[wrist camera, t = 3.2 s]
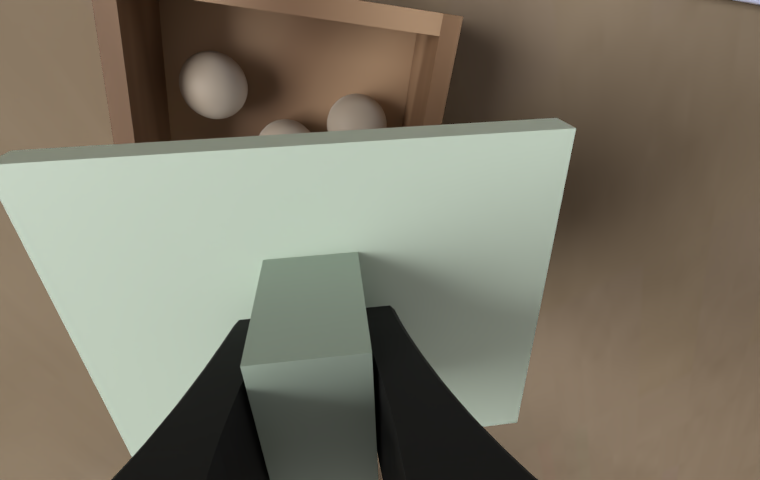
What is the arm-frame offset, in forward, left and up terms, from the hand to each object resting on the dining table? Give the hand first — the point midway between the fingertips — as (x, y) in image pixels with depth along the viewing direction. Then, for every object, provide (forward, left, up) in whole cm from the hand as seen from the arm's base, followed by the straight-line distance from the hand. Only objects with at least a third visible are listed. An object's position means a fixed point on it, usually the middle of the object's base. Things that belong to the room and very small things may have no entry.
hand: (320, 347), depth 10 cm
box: (+1, -3, -10) cm, 11 cm away
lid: (0, 0, -2) cm, 2 cm away
